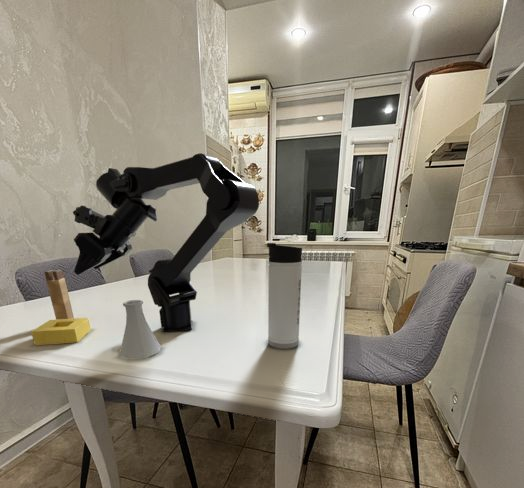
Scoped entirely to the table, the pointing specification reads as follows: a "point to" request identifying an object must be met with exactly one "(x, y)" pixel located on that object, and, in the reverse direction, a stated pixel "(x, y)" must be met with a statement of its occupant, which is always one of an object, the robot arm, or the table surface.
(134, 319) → the flask
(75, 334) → the holder
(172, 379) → the table surface
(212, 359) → the table surface
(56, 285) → the peg
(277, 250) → the travel mug
